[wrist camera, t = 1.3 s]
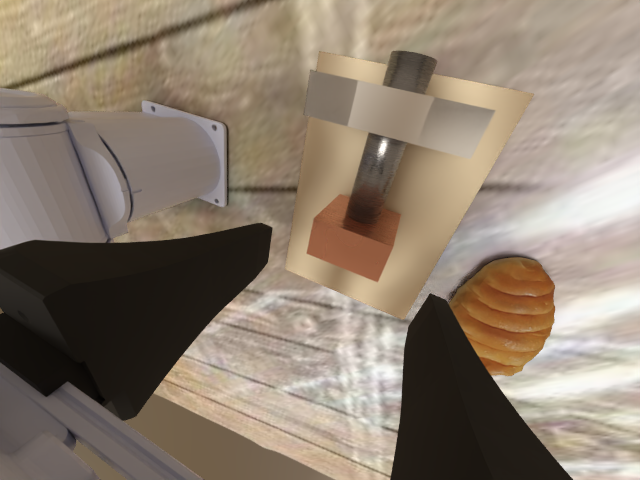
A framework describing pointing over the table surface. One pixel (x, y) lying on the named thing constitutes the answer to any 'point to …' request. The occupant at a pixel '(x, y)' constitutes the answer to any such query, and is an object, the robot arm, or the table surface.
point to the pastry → (506, 313)
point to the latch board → (413, 171)
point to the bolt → (370, 189)
